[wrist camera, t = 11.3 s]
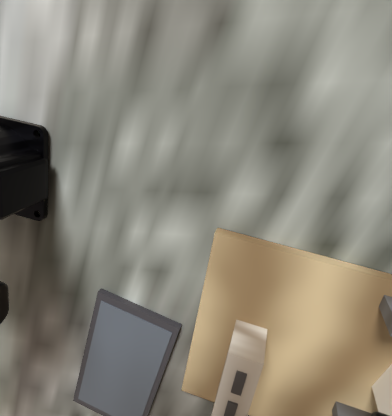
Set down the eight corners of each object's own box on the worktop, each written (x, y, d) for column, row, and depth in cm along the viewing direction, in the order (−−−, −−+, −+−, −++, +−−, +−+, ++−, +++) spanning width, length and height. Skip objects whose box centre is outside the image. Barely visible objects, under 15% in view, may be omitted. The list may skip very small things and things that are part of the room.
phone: (79, 391, 30) (72, 401, 29) (104, 284, 26) (97, 292, 25) (145, 423, 29) (140, 435, 28) (184, 319, 25) (179, 329, 24)
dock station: (184, 381, 26) (167, 429, 22) (217, 227, 21) (202, 256, 17) (452, 477, 23) (482, 551, 19) (564, 320, 18) (633, 380, 14)
